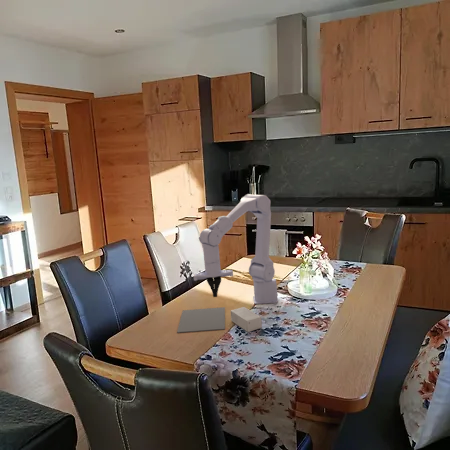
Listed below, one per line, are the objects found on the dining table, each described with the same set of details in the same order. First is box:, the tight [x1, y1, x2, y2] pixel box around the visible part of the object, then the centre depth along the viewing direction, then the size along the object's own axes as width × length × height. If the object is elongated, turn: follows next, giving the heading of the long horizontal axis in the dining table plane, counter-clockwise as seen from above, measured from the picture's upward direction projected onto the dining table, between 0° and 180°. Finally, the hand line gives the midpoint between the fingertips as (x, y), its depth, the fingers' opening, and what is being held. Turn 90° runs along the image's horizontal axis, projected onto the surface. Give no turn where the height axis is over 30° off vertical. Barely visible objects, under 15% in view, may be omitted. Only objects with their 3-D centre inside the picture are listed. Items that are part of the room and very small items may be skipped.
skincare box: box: [230, 306, 263, 333], centre depth 150 cm, size 6×4×12 cm
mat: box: [176, 306, 226, 334], centre depth 158 cm, size 17×20×1 cm
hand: (215, 296), depth 156 cm, fingers closed
